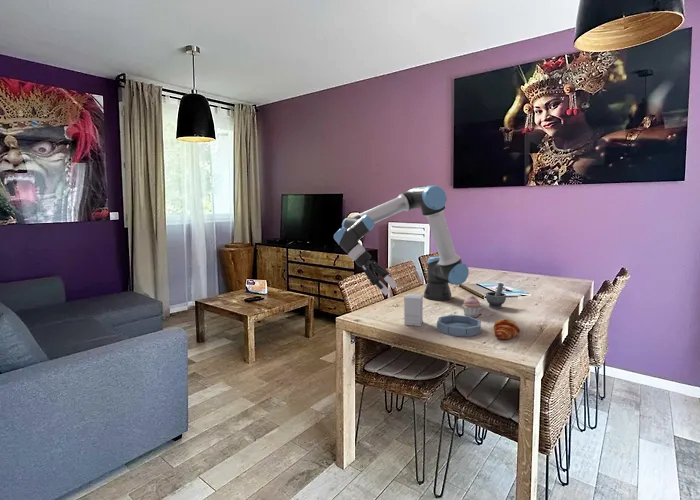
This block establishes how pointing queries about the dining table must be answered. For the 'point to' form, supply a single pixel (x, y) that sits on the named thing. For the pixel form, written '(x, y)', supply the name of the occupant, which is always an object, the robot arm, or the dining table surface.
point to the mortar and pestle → (496, 297)
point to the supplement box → (413, 309)
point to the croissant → (506, 329)
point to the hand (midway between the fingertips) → (391, 290)
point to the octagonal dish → (459, 325)
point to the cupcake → (471, 307)
